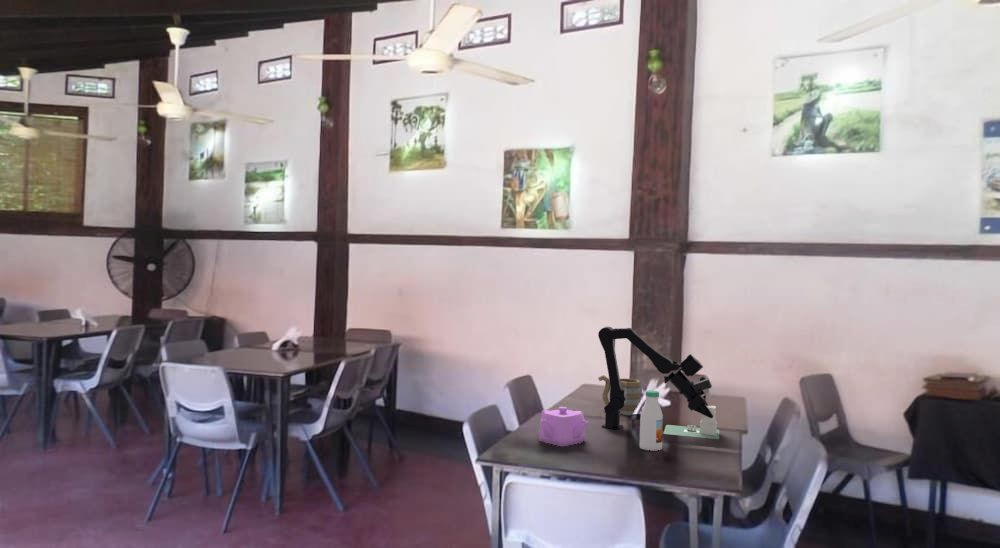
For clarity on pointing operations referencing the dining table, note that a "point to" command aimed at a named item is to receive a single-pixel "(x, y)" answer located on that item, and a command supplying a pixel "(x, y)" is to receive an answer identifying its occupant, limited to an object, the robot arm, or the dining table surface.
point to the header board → (688, 431)
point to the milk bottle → (651, 423)
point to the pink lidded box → (562, 426)
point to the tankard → (632, 392)
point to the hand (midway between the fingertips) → (712, 416)
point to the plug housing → (709, 423)
